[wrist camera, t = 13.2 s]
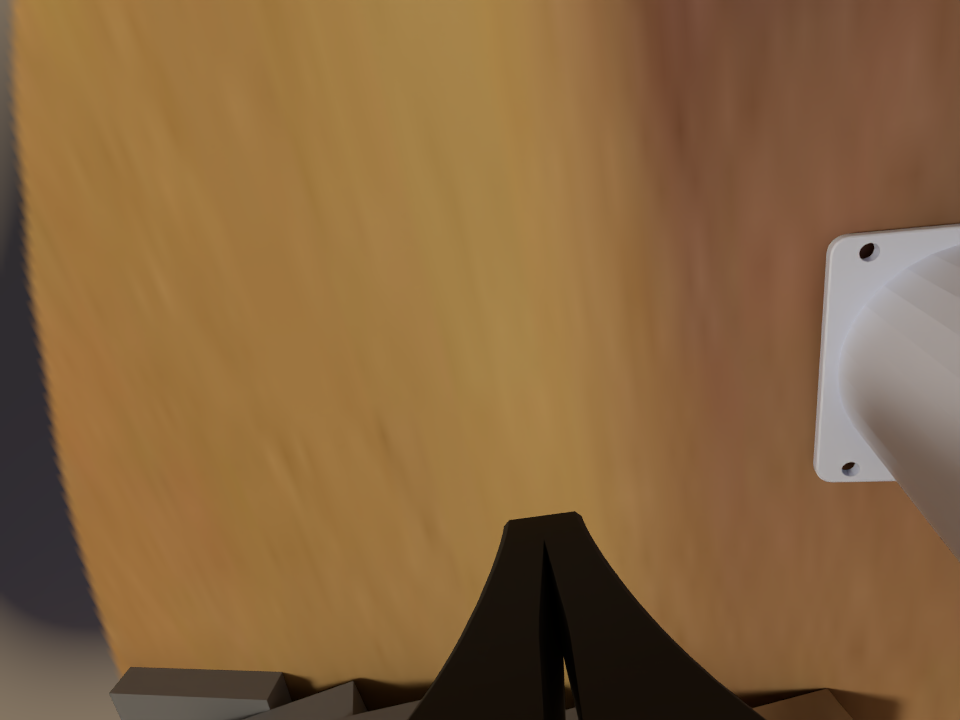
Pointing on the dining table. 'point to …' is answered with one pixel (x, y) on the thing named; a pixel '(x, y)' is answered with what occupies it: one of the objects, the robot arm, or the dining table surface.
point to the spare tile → (805, 708)
